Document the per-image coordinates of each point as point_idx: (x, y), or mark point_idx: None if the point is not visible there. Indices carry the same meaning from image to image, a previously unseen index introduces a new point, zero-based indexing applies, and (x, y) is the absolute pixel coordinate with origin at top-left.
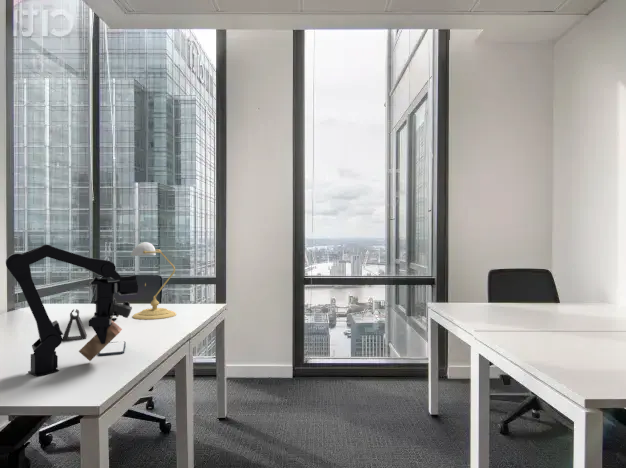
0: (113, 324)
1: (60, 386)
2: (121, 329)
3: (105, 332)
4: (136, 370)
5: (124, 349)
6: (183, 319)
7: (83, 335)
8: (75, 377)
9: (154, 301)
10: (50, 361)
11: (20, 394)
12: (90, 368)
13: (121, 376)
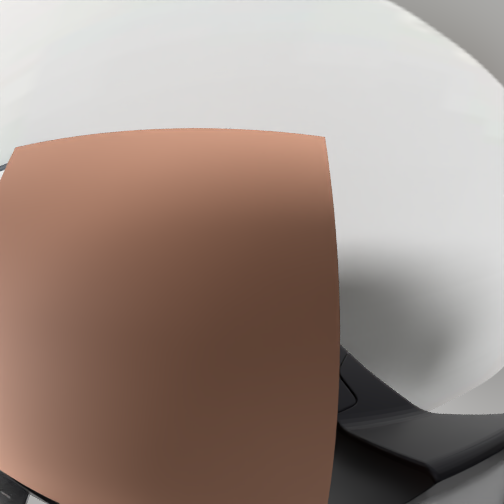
0: (113, 405)
1: (475, 324)
2: (46, 148)
3: (368, 384)
4: (439, 52)
5: (4, 164)
6: None
7: None
8: (421, 310)
9: None
10: None
11: (462, 382)
12: None
13: (492, 131)
